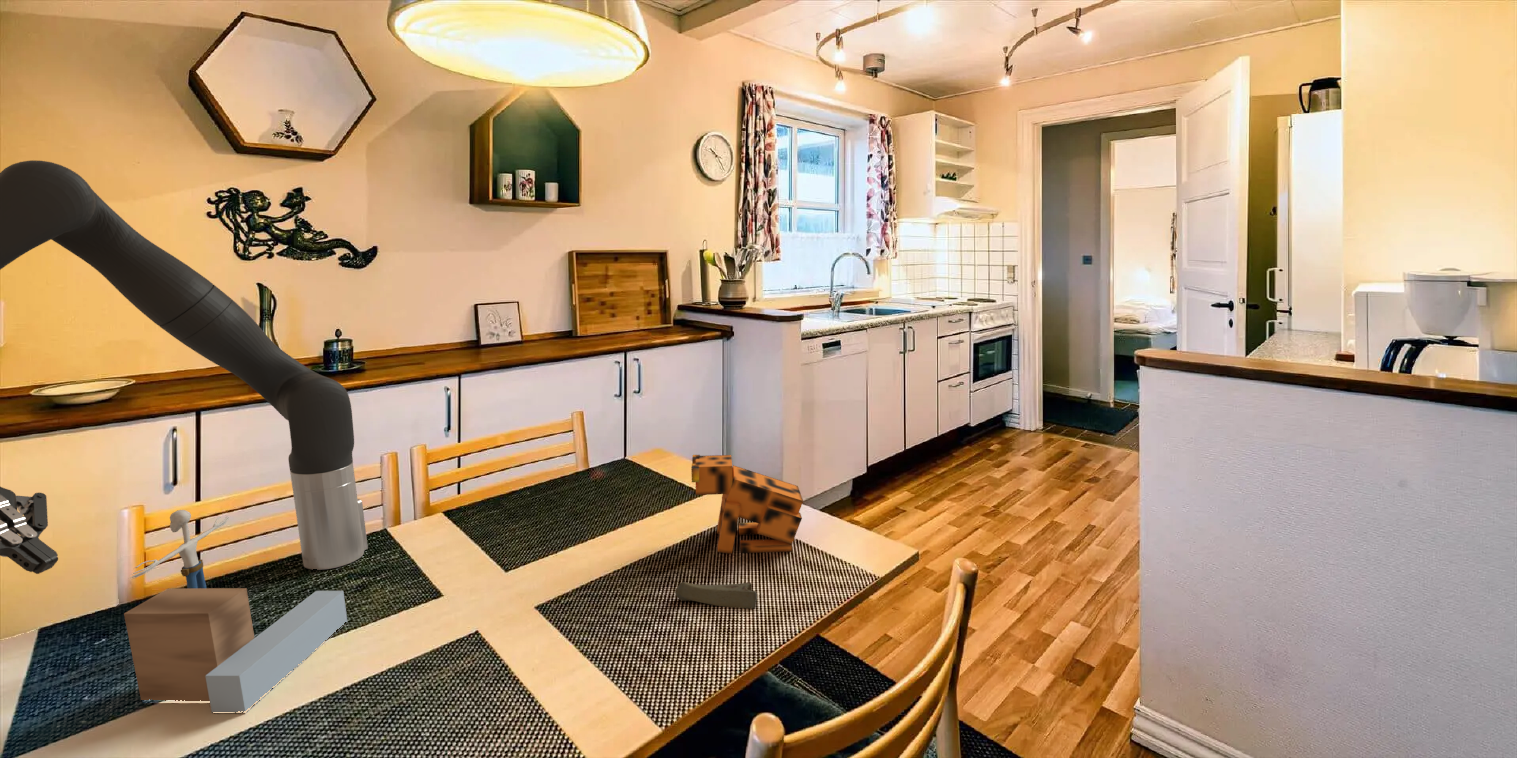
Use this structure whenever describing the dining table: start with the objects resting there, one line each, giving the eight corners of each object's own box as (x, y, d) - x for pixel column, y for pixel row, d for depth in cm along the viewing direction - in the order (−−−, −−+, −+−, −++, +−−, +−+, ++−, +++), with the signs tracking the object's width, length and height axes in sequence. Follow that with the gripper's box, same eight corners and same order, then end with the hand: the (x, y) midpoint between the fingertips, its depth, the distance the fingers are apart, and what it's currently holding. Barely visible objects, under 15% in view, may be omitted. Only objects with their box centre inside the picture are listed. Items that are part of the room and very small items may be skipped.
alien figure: (216, 605, 104) (196, 487, 101) (254, 603, 105) (236, 485, 101) (113, 687, 85) (84, 543, 81) (161, 683, 86) (134, 540, 82)
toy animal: (803, 551, 122) (804, 467, 119) (693, 555, 121) (691, 470, 118) (796, 527, 132) (797, 450, 129) (694, 531, 131) (692, 452, 128)
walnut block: (183, 673, 88) (167, 588, 85) (260, 673, 87) (246, 588, 85) (141, 704, 82) (123, 613, 79) (223, 704, 82) (208, 613, 79)
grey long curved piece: (760, 593, 108) (759, 573, 107) (756, 610, 103) (755, 589, 102) (681, 590, 109) (680, 570, 108) (673, 607, 104) (672, 586, 103)
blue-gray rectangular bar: (320, 622, 99) (316, 590, 98) (347, 622, 99) (343, 590, 98) (212, 713, 80) (205, 675, 79) (245, 713, 80) (239, 675, 79)
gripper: (-134, 469, 73) (6, 572, 75) (1, 435, 86) (116, 523, 88) (-168, 516, 74) (-30, 616, 76) (-30, 475, 87) (85, 561, 89)
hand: (49, 566), depth 82 cm, fingers closed
